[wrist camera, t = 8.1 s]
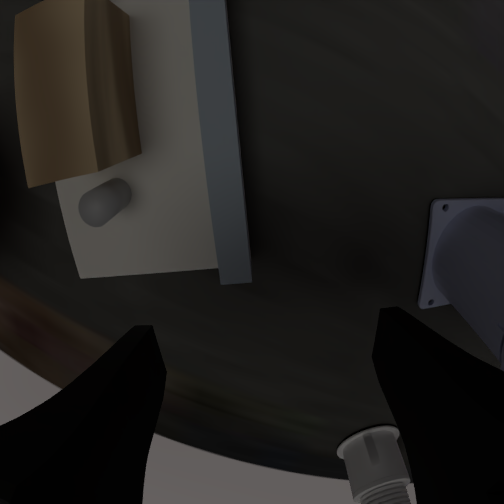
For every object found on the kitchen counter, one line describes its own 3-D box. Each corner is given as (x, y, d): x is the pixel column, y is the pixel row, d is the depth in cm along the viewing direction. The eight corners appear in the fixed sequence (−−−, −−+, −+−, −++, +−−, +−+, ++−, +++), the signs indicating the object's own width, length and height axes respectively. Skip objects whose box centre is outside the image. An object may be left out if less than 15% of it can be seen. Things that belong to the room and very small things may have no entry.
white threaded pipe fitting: (330, 436, 27) (348, 524, 18) (397, 412, 26) (428, 496, 17) (341, 463, 31) (357, 535, 22) (398, 444, 30) (421, 513, 21)
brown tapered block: (129, 15, 13) (84, -18, 8) (141, 153, 16) (98, 171, 11) (69, 35, 13) (12, 17, 8) (82, 165, 16) (26, 188, 11)
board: (222, -39, 12) (217, -72, 8) (250, 257, 19) (252, 292, 16) (50, 9, 12) (14, -5, 9) (86, 271, 20) (59, 302, 16)
